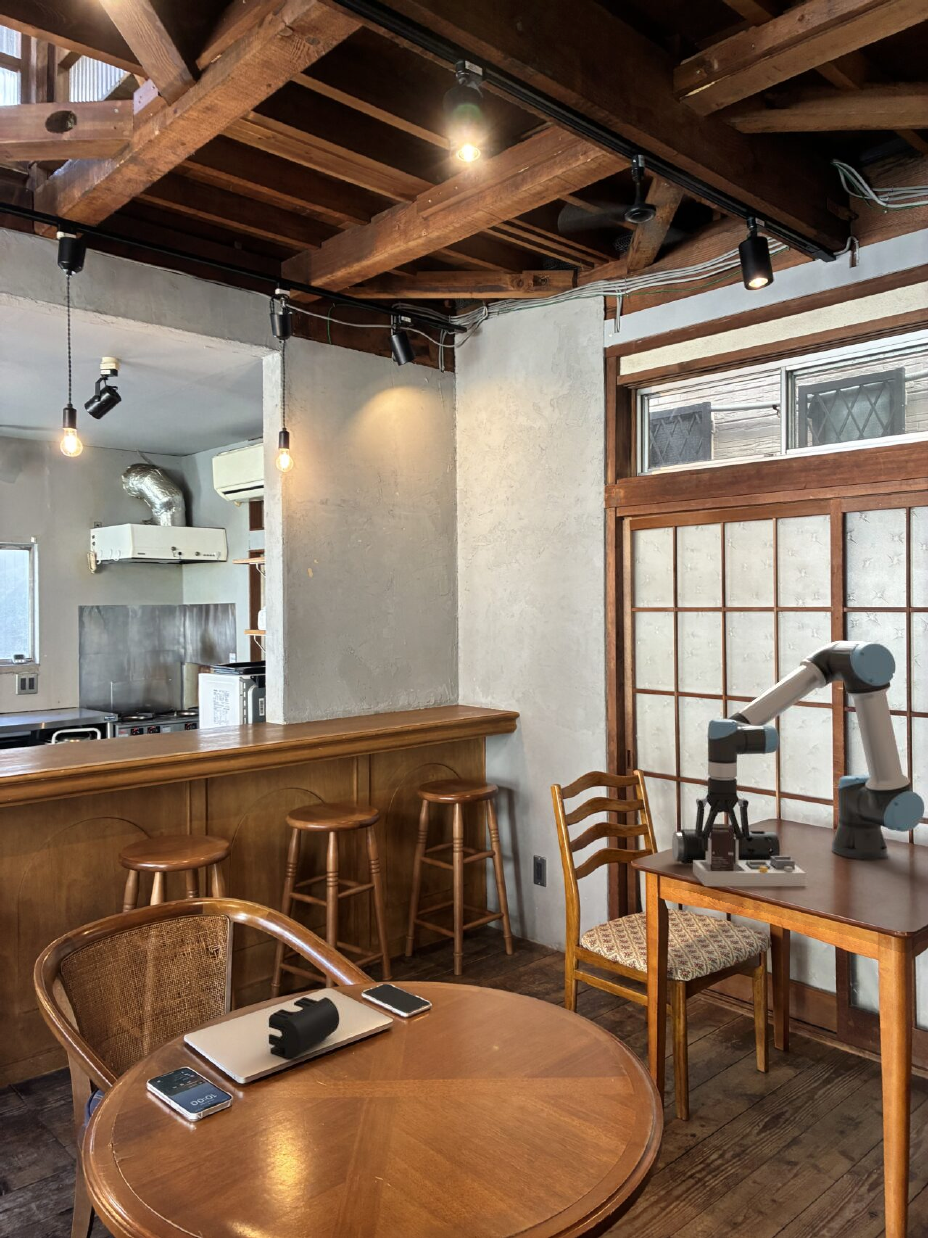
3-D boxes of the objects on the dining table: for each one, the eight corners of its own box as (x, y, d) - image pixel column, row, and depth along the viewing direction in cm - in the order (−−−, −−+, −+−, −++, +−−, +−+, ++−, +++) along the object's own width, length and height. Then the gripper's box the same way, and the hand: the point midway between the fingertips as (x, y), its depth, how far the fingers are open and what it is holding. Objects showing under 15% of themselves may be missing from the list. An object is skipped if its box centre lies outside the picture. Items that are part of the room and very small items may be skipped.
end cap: (299, 1066, 142) (299, 1024, 142) (266, 1054, 146) (266, 1013, 146) (340, 1041, 151) (340, 1000, 151) (308, 1030, 154) (308, 991, 154)
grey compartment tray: (788, 872, 247) (788, 856, 247) (805, 886, 235) (805, 869, 235) (692, 872, 247) (693, 856, 247) (704, 886, 235) (704, 869, 235)
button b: (763, 874, 243) (763, 859, 243) (769, 879, 239) (769, 864, 239) (746, 874, 243) (746, 859, 243) (751, 879, 239) (751, 864, 239)
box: (710, 871, 239) (710, 826, 239) (710, 867, 244) (710, 823, 244) (734, 873, 238) (734, 828, 238) (733, 868, 242) (733, 824, 242)
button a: (788, 869, 243) (788, 853, 243) (794, 874, 239) (794, 858, 239) (770, 869, 243) (770, 854, 243) (776, 874, 239) (776, 858, 239)
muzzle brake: (780, 872, 249) (780, 834, 248) (678, 871, 249) (678, 834, 249) (769, 862, 258) (769, 826, 258) (671, 861, 259) (671, 825, 259)
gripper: (754, 774, 244) (753, 859, 245) (682, 774, 244) (682, 859, 245) (763, 780, 237) (762, 867, 237) (689, 780, 237) (689, 867, 237)
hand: (721, 862), depth 241 cm, fingers closed on box, 7 cm apart
